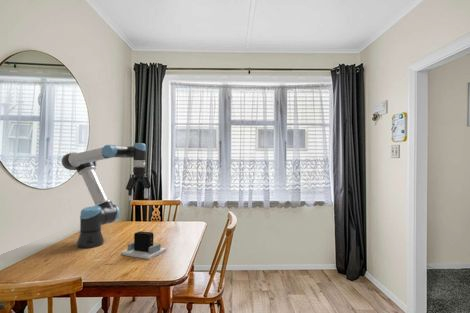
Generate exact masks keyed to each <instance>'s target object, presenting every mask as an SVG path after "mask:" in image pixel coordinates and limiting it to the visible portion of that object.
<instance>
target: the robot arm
mask: <svg viewBox="0 0 470 313" xmlns="http://www.w3.org/2000/svg"><path fill="white" fill-rule="evenodd" d="M146 149H147V148H146V144H145V143H143V142H140V143H139V142H134V143H133V146H132V145H131V146H130V145H129V146H127V145H115V144H105V145H104V146H102V147H97V148H95V149H94V148H93V149H91V150H86V151H82V152H70V153H66V154H65V155H63V156H62V158H61V166H63V167H64V168H65V170H69V171H76V172H77V174H78V175H79V176H82V179H83V181H84V183H85V186H86V187H87V190H88V193H89V195H90V196H91V199H92V200H93V203H94V205H92V206H87V207H85V208H82V209H81V211H80V215H79V220H80V222H79V223H80V224H79V226H80V227H79V228H80V230H79V235H78V238H77V239H78V240H77V242H76V247H77V248H80V249H88V248H89V249H90V248H95V247H99V246H102V245H103V244H104V243H105V241H104V237H103V234H102V225H107V224H111V223H114V222H116V221H117V220H118V219H119V217H120V213H121V212H120V211H121V210H120V208H119V206H118V205H116V204H114V203H113V201H112V200H109V199H108V198H109V197H107V194H106V192H105V190H104V188H103V186H102V184H101V182H100V181H101V180H99V177H98V175H97V173H96V169H97V168H96V166H97V161H102V160H107V159H111V158H112V159H113V158H121V159H122V158H125V159H126V158H133V160H132V161H133V162H132V163H133V164H132V166H133V168H132V169H133V170H132V172H133V174H129V179H128V182H127V184H126V186H125V190H127V191H128V192H127V193H128V195H127V196H128V201H131V202H134V188H135V186H136V185H137V183H138V182H141V184H142V185H143V187H144V188H143V189H144V190H143V198H144V199H149V192H150V191H149V189H150V188H151V187H152V186H151V183H150V180H149V175H148V173H146V155H147V154H146V153H147V152H146V151H147V150H146Z"/></svg>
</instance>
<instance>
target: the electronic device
mask: <svg viewBox="0 0 470 313" xmlns="http://www.w3.org/2000/svg"><path fill="white" fill-rule="evenodd" d="M133 236H134V237H133V242H134V250H135V251H144V252H149V247H151V246H153V245H154V232H150V231H141V230H140V231H137V232H135V233H134V235H133Z"/></svg>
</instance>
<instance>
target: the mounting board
mask: <svg viewBox="0 0 470 313" xmlns="http://www.w3.org/2000/svg"><path fill="white" fill-rule="evenodd" d="M165 252H167V247H166V248H164V247H161V243H156V244H153V246H151V247H149V252H144V251H135V250H134V241H132V242H129V243H128V244H127V249H125V250H122V251H121V252H120V255H123V256H128V257H134V258H141V259H147V260H151V259H154V258H155V257H157V256H160V255H161V254H163V253H165Z"/></svg>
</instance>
